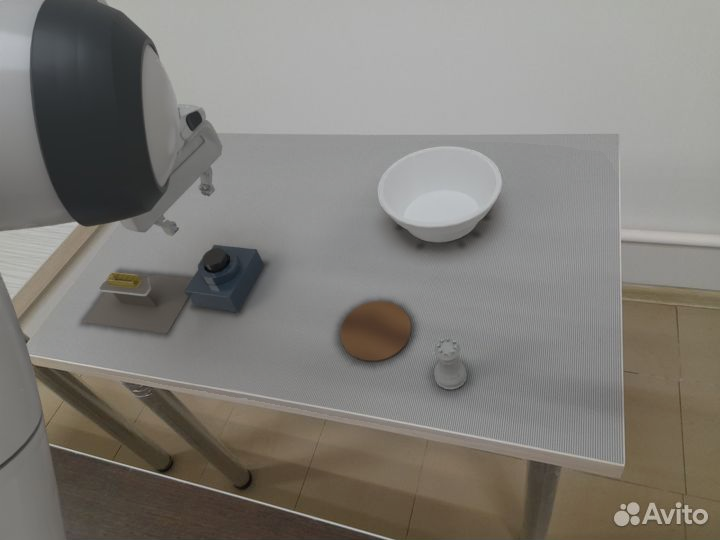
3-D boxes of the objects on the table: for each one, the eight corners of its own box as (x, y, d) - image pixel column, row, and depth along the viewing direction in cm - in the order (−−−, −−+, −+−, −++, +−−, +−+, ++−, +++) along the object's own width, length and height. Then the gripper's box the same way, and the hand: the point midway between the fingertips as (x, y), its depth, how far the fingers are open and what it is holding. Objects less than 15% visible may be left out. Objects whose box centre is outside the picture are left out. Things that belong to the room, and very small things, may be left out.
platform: (119, 272, 101) (100, 249, 97) (198, 279, 96) (182, 255, 91) (83, 322, 94) (61, 300, 89) (166, 333, 89) (148, 310, 84)
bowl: (414, 278, 86) (408, 244, 80) (367, 206, 101) (359, 173, 95) (525, 230, 89) (528, 194, 83) (464, 167, 103) (463, 131, 97)
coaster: (401, 367, 76) (400, 365, 75) (331, 355, 79) (330, 353, 79) (418, 307, 82) (418, 305, 82) (353, 299, 86) (352, 297, 86)
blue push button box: (238, 312, 89) (225, 290, 84) (194, 306, 92) (179, 284, 87) (264, 264, 95) (253, 242, 91) (222, 260, 98) (210, 237, 94)
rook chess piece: (429, 385, 73) (424, 354, 67) (440, 359, 75) (436, 327, 70) (460, 395, 71) (457, 364, 65) (470, 368, 74) (469, 336, 68)
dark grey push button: (222, 274, 88) (218, 266, 86) (202, 271, 89) (197, 263, 87) (233, 256, 90) (228, 248, 88) (213, 254, 91) (209, 246, 90)
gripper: (113, 189, 66) (163, 262, 76) (209, 101, 77) (242, 175, 87) (81, 182, 69) (133, 253, 79) (178, 98, 80) (213, 170, 90)
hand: (191, 212), depth 83 cm, fingers open, 8 cm apart
